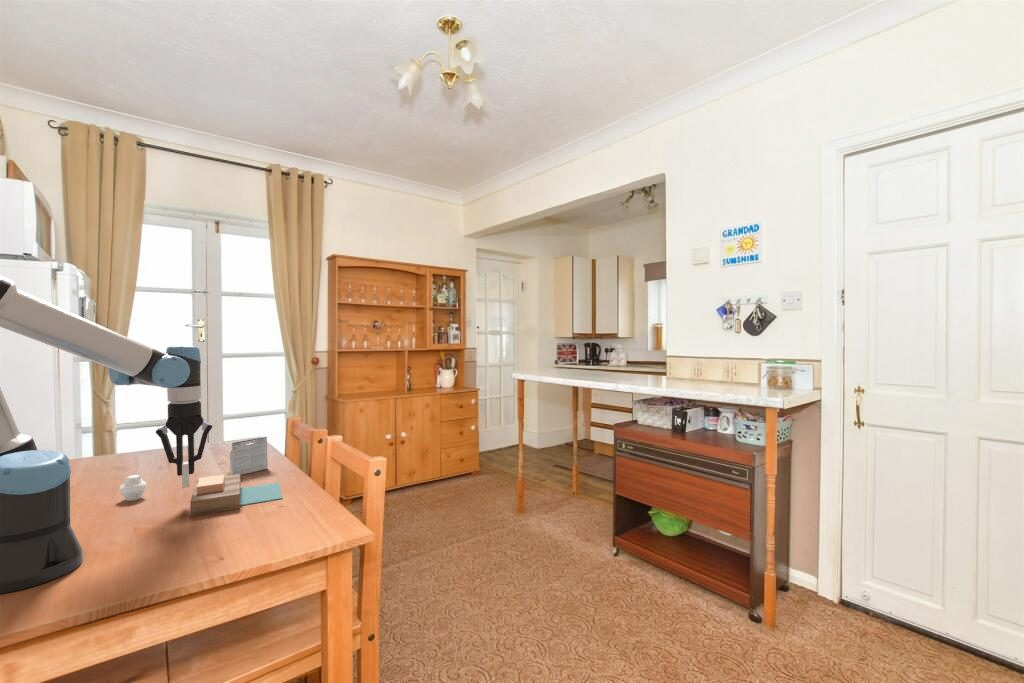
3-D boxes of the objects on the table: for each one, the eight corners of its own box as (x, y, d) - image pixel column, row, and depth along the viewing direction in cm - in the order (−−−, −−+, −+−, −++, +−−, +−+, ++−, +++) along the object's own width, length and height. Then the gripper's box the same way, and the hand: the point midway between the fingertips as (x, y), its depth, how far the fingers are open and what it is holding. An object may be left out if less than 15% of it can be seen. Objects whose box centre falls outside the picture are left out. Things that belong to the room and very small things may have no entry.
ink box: (265, 468, 161) (265, 435, 161) (268, 469, 159) (267, 436, 159) (229, 475, 152) (228, 441, 152) (231, 477, 150) (231, 442, 150)
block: (223, 490, 126) (222, 483, 126) (196, 494, 123) (196, 486, 123) (224, 481, 134) (224, 474, 134) (199, 484, 131) (199, 477, 131)
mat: (282, 498, 130) (282, 497, 130) (237, 506, 125) (237, 505, 125) (278, 483, 144) (278, 482, 144) (238, 489, 138) (238, 488, 138)
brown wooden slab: (239, 508, 123) (239, 493, 123) (190, 516, 118) (190, 501, 118) (240, 487, 140) (240, 474, 140) (197, 493, 135) (197, 480, 135)
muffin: (123, 497, 132) (122, 473, 132) (149, 493, 135) (149, 470, 134) (116, 504, 126) (115, 479, 126) (144, 500, 129) (143, 476, 129)
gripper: (213, 398, 131) (214, 478, 132) (157, 401, 125) (158, 486, 125) (212, 401, 125) (213, 486, 126) (152, 405, 118) (154, 494, 119)
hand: (186, 486), depth 125 cm, fingers closed
